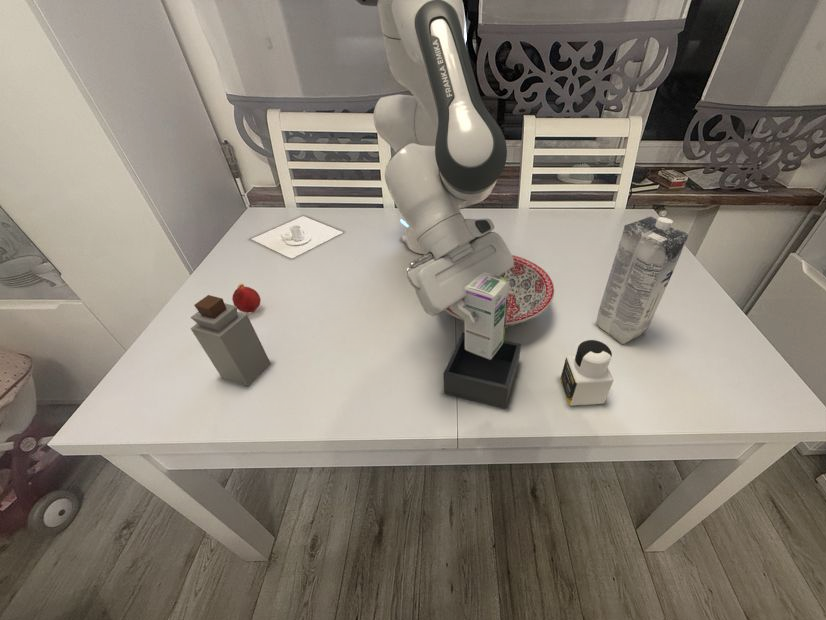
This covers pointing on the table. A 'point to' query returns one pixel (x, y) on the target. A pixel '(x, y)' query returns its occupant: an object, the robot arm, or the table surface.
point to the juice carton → (639, 276)
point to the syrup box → (486, 314)
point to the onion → (246, 299)
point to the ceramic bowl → (524, 292)
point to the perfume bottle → (229, 340)
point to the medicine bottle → (587, 374)
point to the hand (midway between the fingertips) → (488, 313)
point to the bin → (482, 374)
